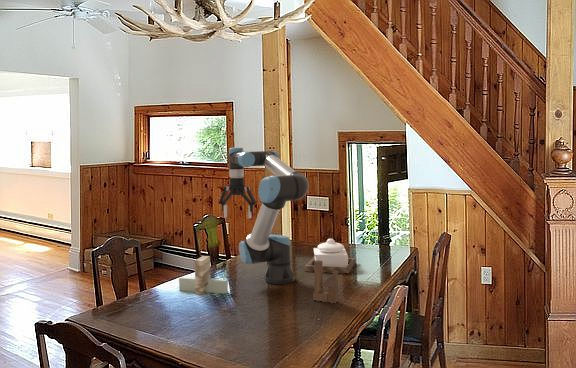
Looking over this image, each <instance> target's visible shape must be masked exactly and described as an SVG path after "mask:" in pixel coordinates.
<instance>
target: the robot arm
mask: <svg viewBox="0 0 576 368" xmlns="http://www.w3.org/2000/svg"><path fill="white" fill-rule="evenodd" d="M228 164H229V165H228V167H229V170H228V171H229V173H228V174H229V175H228V176H229V177H230V178H229V186H227V185H226V186H224V187H223V191H222V194H221V196H220V198H219V199H218V200H219V201H218V202H217V203H218V205H221V210H222V212H223V218H225V219H226V218H227V217H228V205H227V203H228V201H230V199H231V198H232V196H241V197H242V198H243V199H244V200H245V202H247V204H248V206H247V207H248V208H247V209H248V213H247V215H248V216H247V217H248V219H252V213H253V212H254V205H256V204H257V201H256V198H255V197H254V194H253V193H252V191H251V187H250V186H245V178H244V176H245V173H244V172H245V171H244V170H245V168H251V167H265V168H266V169H268V171H270V172H271V173H272V174H274V175H270V176H265V177H264V178H262V179H261V180H260V183H259V185H258V191H257V193H258V197H259V200H260V202H261V206H260V207H259V210H258V213H257V217H256V219H255V223H254V226H253V228H252V231H251V233H249V234H248V235H247V236H246V239H245V240H241V241H240V242H239V245H238V251H239V257H240V260H241V261H242V263H243V264H244V265H255V264H261V263H262V264H263V263H267V268H266V269H265V274H264V282H265V283H268V284H273V285H282V284H283V285H285V284H290V283H293V282H294V281H295V274H294V271H293V268H292V263H291V258H292V257H291V255H292V254H291V253H292V252H291V246H292V244H291V238H290V237H289V236H287V235H283V234H282V235H281V234H272V231H273V227H274V225H275V222H276V219H277V217H278V214H279V212H280V210H282V209H284V207H285V206H286V202H291V201H294V202H295V201H298V200H301V199H303V198H304V197H305V196H306V195H307V193H308V191H309V189H310V185H309V180H308V178H307V176H305V175H304V174H303V173H302V172H300V171H297V170H294V169H293V168H292V167H291V166H289V165H288V164H287V163H286V162H285V161H284V160H282V159H280V155H279V153H278V152H277V151H275V150H261V151H244V148H243V147H230V148H229V149H228ZM228 191H230V192H229V193H228ZM245 191H246V192H245ZM227 193H228V195H227ZM246 193H247V194H246ZM226 195H227V196H226ZM225 197H226V198H225Z"/></svg>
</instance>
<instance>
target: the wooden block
mask: <svg viewBox="0 0 576 368" xmlns="http://www.w3.org/2000/svg"><path fill="white" fill-rule="evenodd" d="M313 266H314V272H313V273H314V292H313V293H312V301H313V300H316V301H315V302H320V301H322V302H321V303H328V302H330V303H329V304H333V303H335V304H337V303H338V302H339V273H338V271H336V272H334V273H331V275H330V276H329V277H327V279H325V281H324V280H323V272H322V261H321V260H316V261H314V265H313ZM323 287H325V288H327V292H326V291H325V292H324V291H323V289H324V288H323ZM337 301H338V302H337ZM336 302H337V303H336Z"/></svg>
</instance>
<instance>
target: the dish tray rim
mask: <svg viewBox="0 0 576 368" xmlns="http://www.w3.org/2000/svg"><path fill="white" fill-rule="evenodd" d="M314 261H315V255H314V256H313V257H312V258H311V259H310V260H309V261H308V262H307V263H306V264H305V265H304V272H306V271H314ZM348 263H349V264H348V266H347V267H329V266H322V273H325V272H336V271H338V274H344V273H349V272H350V273H351V271H352V270H353V268H354V267H355V265H356V264H357V263H356V257H355V258H354V257H348ZM355 263H356V264H355ZM354 264H355V265H354ZM353 266H354V267H353ZM352 267H353V268H352ZM351 269H352V270H351ZM350 270H351V271H350ZM350 273H349V274H350Z"/></svg>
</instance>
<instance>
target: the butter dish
mask: <svg viewBox="0 0 576 368" xmlns="http://www.w3.org/2000/svg"><path fill="white" fill-rule="evenodd" d="M313 253H314V254H313V255H314V256H315V261H316V260H321V261H322V266H329V267H347V266H348V258H349V255H348V252H347V250H346V248H345V246H344V244H342V243H340V242H336V241H335V240H334V239H333V238H328V239H327V240H326V241H325V242H322V243H319V244H318V245H317V247H313Z"/></svg>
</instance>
